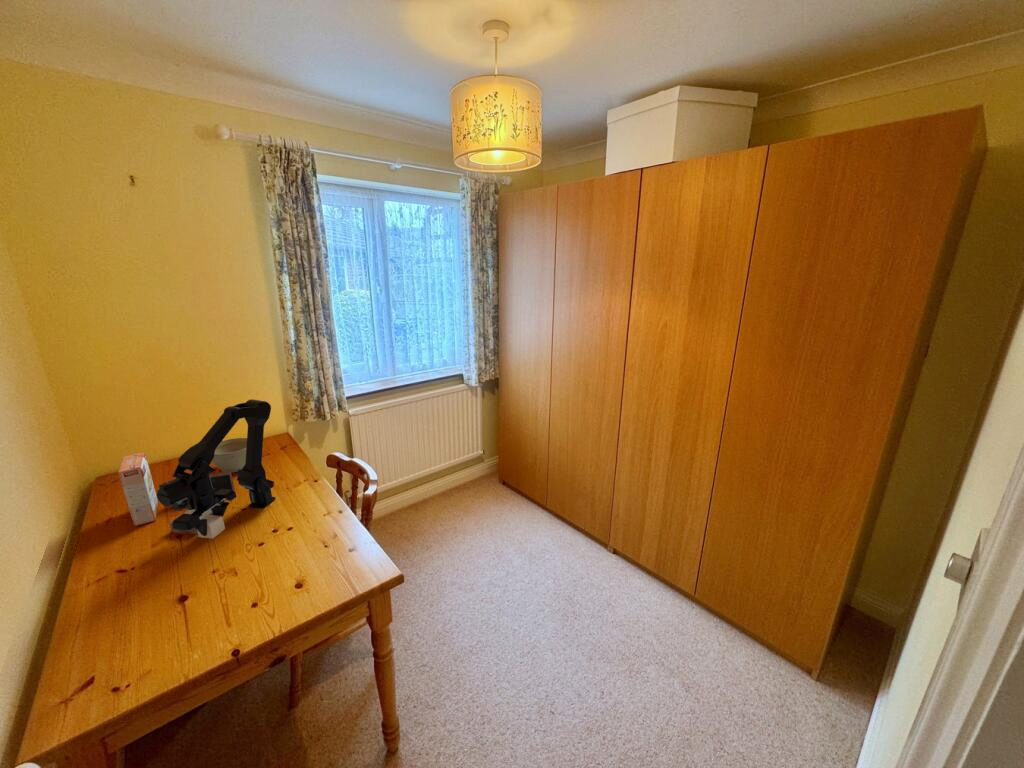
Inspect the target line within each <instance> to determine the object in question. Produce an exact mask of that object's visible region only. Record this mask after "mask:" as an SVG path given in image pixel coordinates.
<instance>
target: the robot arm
mask: <svg viewBox="0 0 1024 768" xmlns="http://www.w3.org/2000/svg"><path fill="white" fill-rule="evenodd" d="M271 411H272V405H271V404H270V403H269V402H268V401H265V400H259V399H248V400H247V401H245V402H240V403H236V404H234V405H232V406H226V407H225V408H224V410H223V413H221V415H220V416H219V417H218V419H216V421H215V423H214V424H213V425H212V426H211V428H210V429H209V430H208V431H207V432H206V434H205V435H204V436H203V437H202V439H201V440H200V441H199V442H198V443H196V444H194V445H192V446H190V447H188V449H186V451H184V452H183V453H182V454H181V455H180V456H179V459H178V460H177V461H178V464H177V466H176V468H175V470H174V473H173V474H172V478H174V479H172V480H169V481H167V482H164V483H161V484H159V485H158V490H157V491H156V496H157V500H158V502H159V503H160V504H161V505H162V506H164V507H170V506H171V508H172V510H173V511H174V512H178V511H183V510H186V509H188V510H193V509H195V511H194V513H192V514H183V513H182V514H180V515H181V516H180V515H179V516H178V517H176V518H175V519H173V520H172V521H173V522H172V521H171V522H172V527H173V529H180V530H191V529H192V528H194V527H195V528H196V529H197V530H198V531H199V532H200V533H201V534H202V535H203V536H206V535H207V519H203V517H202V515H203V514H204V513H205V512H207V511H208V510H210V509H211V510H212V513H213V515H215V516H222V517H223V518H224V516H225V513H226V511H227V508H228V507H229V505H230V502H232V501H234V500H235V498H237V492H236V491H234V490H230V489H220V490H219V491H217V489H216V488H213V487H212V483H211V479H210V475H211V474H213V473H214V472H216V471H217V468H215V467H213V466H211V463H213V462H212V460H213V458H214V454H215V450H216V448H217V447H218V445H219V444H220V443H221V442H222V441H224V440H225V438H226V436H227V435H228V434H229V433H230V431H232V429H233V427H234V426H235V425H237V422H238V421H239V420H240V419H244V420H245V422H246V423H247V435H246V438H247V447H246V463H245V465H244V467H243V468H242V469H239V470H238V472H237V478H236V481H237V482H238V485H239V486H240V487H242V488H243V487H244V489H245V490H248V495H249V496H248V497H249V500H250V503H249V504H248V508H259V509H260V508H261V509H264V508H267V506H269V505H270V504H272V502H274V501H275V500H276V499H277V498H276V496H273V494H272V489H273V488H274V487H275V486H274V485H275V481H273V480H270V479H267V474H266V473H267V472H266V470H265V468H264V465H263V447H264V433H265V424H266V423H267V422H268V420H269V419H270V417H271ZM210 466H211V467H210ZM186 471H189V472H190V473H189V472H186ZM216 491H217V492H216ZM215 492H216V493H215ZM225 499H226V500H225Z"/></svg>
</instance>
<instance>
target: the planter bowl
mask: <svg viewBox="0 0 1024 768" xmlns="http://www.w3.org/2000/svg"><path fill="white" fill-rule="evenodd" d="M246 447H247V437H235V438H228V439H223V440H222V442H221V443H220V444H219V445H218V447H217V448H216V450H215V454H214V458H213V460H212V462H211V463H213V465H214V464H216V465H215V466H216V467H217V468H218V469H220V471H221V473H223V472H231V474H233V473H238V470H239V469H242V468H243V467H244V465H245V463H246ZM232 456H233V457H232ZM230 457H232V458H230ZM228 458H229V459H228ZM226 459H227V460H226ZM224 460H225V461H224ZM221 461H222V462H221ZM219 462H220V463H219ZM217 463H218V464H217Z"/></svg>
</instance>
